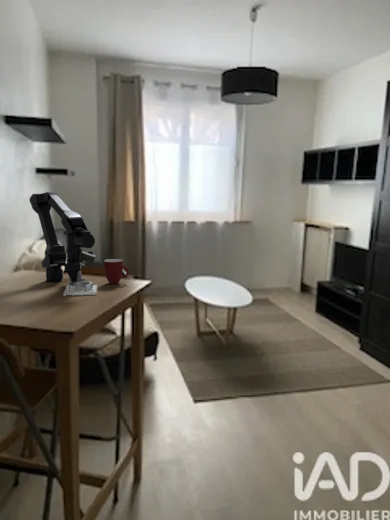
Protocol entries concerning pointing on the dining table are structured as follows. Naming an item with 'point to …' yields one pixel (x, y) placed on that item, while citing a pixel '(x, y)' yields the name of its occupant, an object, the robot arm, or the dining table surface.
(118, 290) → the dining table surface
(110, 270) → the mug
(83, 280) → the knob
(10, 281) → the dining table surface
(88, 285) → the hub
